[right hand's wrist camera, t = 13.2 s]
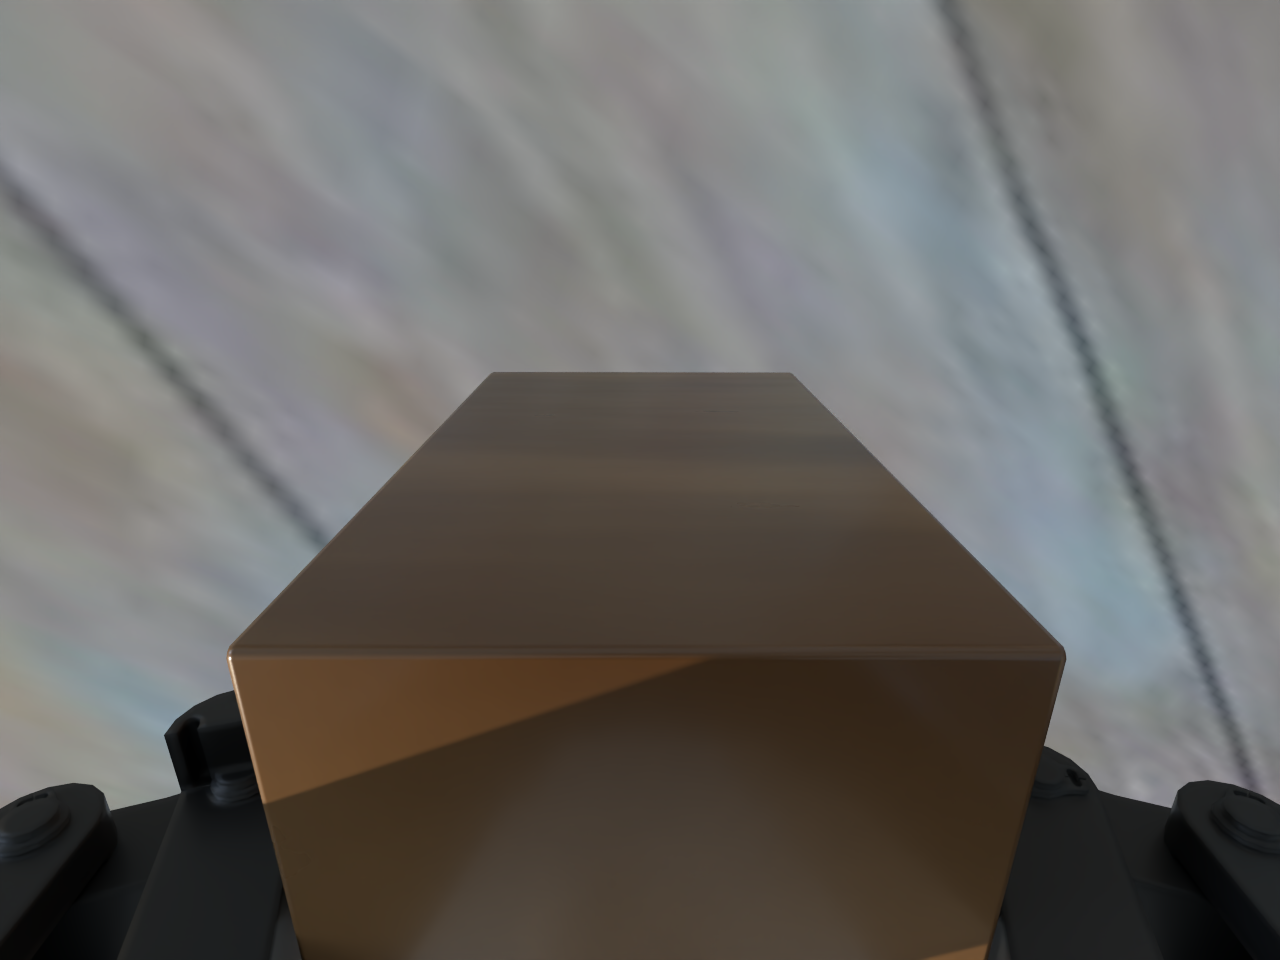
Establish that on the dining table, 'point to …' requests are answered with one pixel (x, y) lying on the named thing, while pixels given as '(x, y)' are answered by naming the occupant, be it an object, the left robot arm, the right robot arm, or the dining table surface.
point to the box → (644, 693)
